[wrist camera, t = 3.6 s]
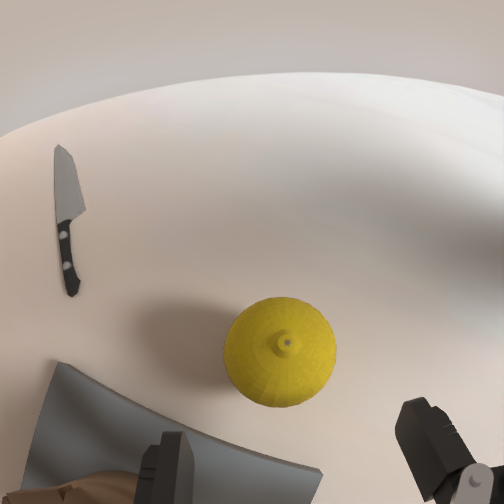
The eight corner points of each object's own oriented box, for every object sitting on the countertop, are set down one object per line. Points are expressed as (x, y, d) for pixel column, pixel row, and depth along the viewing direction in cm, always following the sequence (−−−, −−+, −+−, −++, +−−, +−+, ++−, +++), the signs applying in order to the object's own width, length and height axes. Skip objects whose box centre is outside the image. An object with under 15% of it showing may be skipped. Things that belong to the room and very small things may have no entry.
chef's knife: (79, 129, 29) (55, 140, 28) (76, 121, 28) (52, 133, 27) (104, 287, 22) (71, 301, 21) (98, 282, 21) (64, 296, 20)
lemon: (290, 419, 18) (312, 438, 10) (213, 374, 19) (186, 364, 12) (334, 343, 19) (378, 315, 12) (260, 301, 21) (262, 250, 13)
